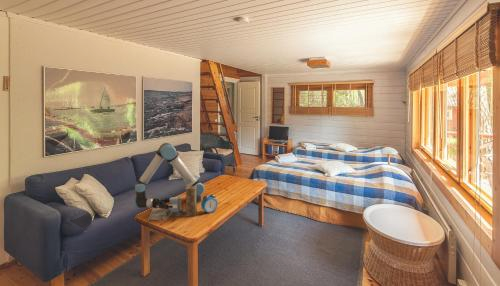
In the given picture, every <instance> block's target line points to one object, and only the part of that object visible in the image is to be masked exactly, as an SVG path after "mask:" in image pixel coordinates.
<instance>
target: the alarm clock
mask: <svg viewBox="0 0 500 286" xmlns="http://www.w3.org/2000/svg"><path fill="white" fill-rule="evenodd" d="M216 197H217V196H216V195H215V194H214V193H211V194H209V195H207V194H205V195H203V197H202V200H201V201H200V202H201V203H200V207H201V209H202V210H203V211H204V212H206V214H208V213H210V214H211V213H213V212H215V211H216V209H218V208H217V207H218V204H219V202H218V200H217V199H216Z"/></svg>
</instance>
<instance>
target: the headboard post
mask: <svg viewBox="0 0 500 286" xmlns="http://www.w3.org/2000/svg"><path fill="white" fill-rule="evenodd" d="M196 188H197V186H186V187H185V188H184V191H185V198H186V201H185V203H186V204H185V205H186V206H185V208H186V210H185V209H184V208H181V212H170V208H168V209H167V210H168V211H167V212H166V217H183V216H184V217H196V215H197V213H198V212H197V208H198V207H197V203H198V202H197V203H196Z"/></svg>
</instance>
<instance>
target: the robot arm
mask: <svg viewBox="0 0 500 286" xmlns="http://www.w3.org/2000/svg"><path fill="white" fill-rule="evenodd" d="M164 160H165V162H166V163H168V164H170V165H171V166H172V167H173V168H174V170H175V171H176V172H177V173H178V174H179V175H180V177H181V178H182V179H183V180H184V183H186V185H185V186H186V187H187V186H197V188H196V203H200V202H202V200H203V198H202V195H203V193H204V192H205V185H204V184H203V183H202V182H201V180H200V176H198V175H197V176H196V175H193V173H192V172H191V171H190V169H189V168H188V167H187V165H186V164H185V163H184V161H183V160H182V159H181V158H180V154H179V152H178V150H176V147H175V146H173V145H172V144H171V143H168V142H164V143H162V144H160V146H159V148H157V150H156V152H155V156H154V157H153V158H152V160H151V162H150V163H149V165H148V166H147V168H146V169H145V170H144V172H143V174H142V175H141V176H140V178H139V180H138V181H136V182H135V184H134V190H135V198H134V199H133V201H132V207H133V208H136V209H137V208H138V209H142V208H143V209H144V208H145V209H146V208H147V209H152V208H154V209H157V208H159V209H163V210H169V209H170V208H177V205H170V204H168V203H170V202H169V199H170V198H171V197H165V198H161V199H159V198H152V197H151V198H147V193H146V187H147V185H148V183H149V182H150V180H151V179H152V177H153V176H154V174H155V173H156V172H157V170H158V169H159V167H160V165H161V164H162V162H164ZM185 202H186V197H185Z"/></svg>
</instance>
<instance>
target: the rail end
mask: <svg viewBox="0 0 500 286" xmlns="http://www.w3.org/2000/svg"><path fill="white" fill-rule="evenodd" d="M169 198H170V199H169V202H168V203H169V205H177V208H169V209H170V212H181V209H182V198H181V196H179V197H178V196H175V197H172V196H171V197H169Z"/></svg>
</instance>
